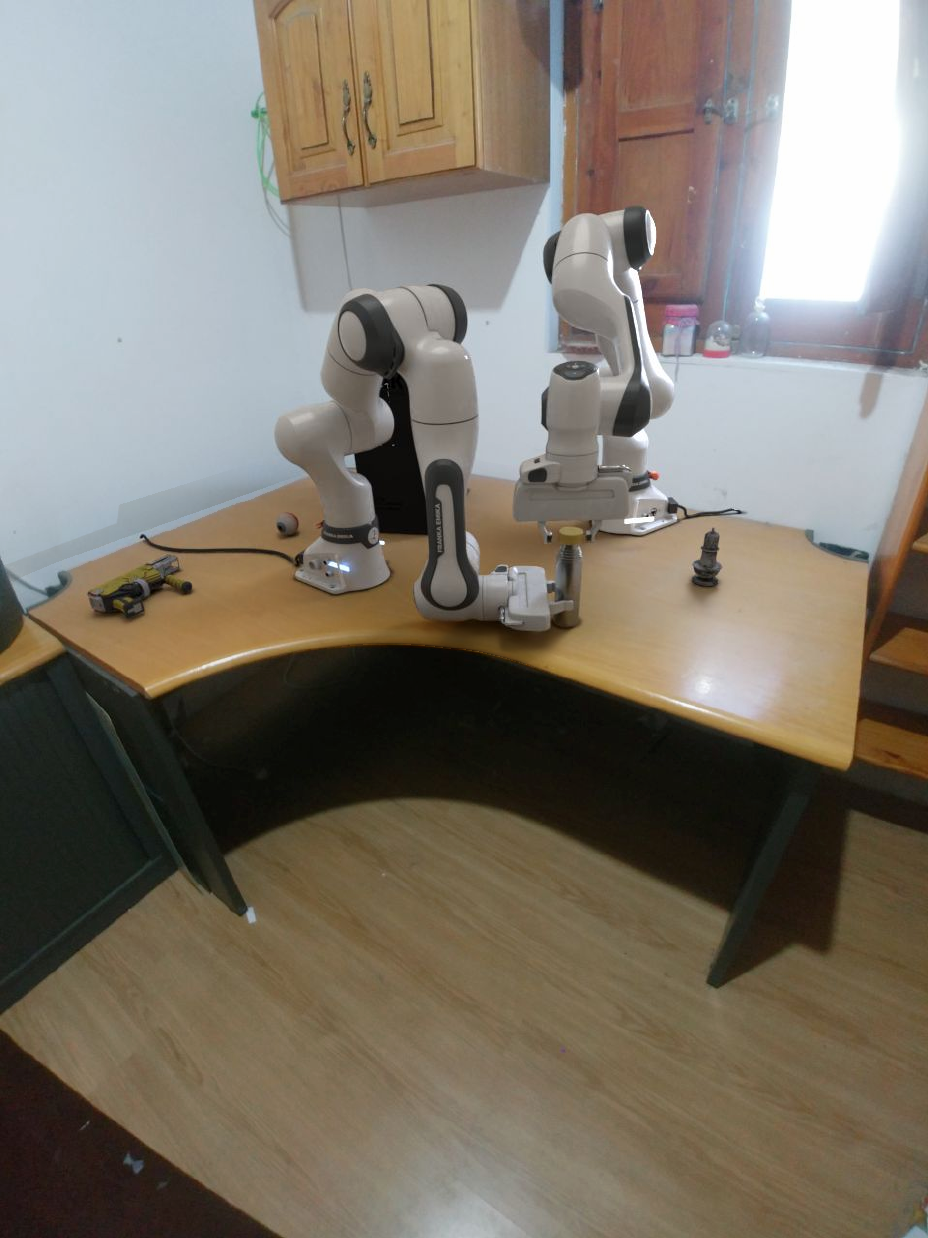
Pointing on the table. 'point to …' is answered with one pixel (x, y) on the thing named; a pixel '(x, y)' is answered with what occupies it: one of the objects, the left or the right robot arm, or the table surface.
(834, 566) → the table surface
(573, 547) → the bottle
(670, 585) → the table surface
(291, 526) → the eyeball
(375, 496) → the black box
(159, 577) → the toy gun
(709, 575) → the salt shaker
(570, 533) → the cap
